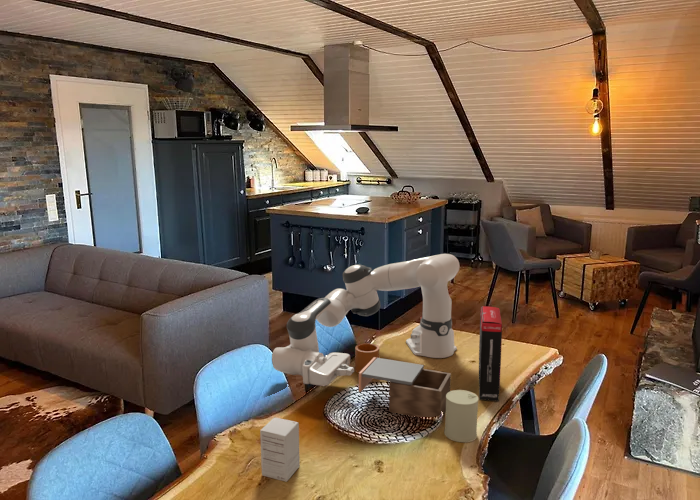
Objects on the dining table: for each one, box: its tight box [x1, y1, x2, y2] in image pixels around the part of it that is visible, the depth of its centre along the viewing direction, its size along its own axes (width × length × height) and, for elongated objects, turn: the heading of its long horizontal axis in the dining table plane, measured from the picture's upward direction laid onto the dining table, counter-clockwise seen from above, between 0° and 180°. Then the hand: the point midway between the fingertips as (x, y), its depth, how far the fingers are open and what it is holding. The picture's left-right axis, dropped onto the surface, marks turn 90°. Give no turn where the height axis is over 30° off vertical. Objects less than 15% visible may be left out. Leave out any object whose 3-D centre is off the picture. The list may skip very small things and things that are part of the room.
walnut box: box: [388, 368, 452, 417], centre depth 172 cm, size 16×14×10 cm
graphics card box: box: [478, 305, 503, 402], centre depth 182 cm, size 17×7×27 cm, turn 168°
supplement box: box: [259, 417, 301, 482], centre depth 138 cm, size 7×7×13 cm
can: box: [443, 389, 480, 443], centre depth 156 cm, size 9×9×12 cm
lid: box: [358, 357, 425, 393], centre depth 175 cm, size 17×14×6 cm
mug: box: [354, 342, 380, 374], centre depth 201 cm, size 9×12×9 cm
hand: (352, 371), depth 180 cm, fingers closed
